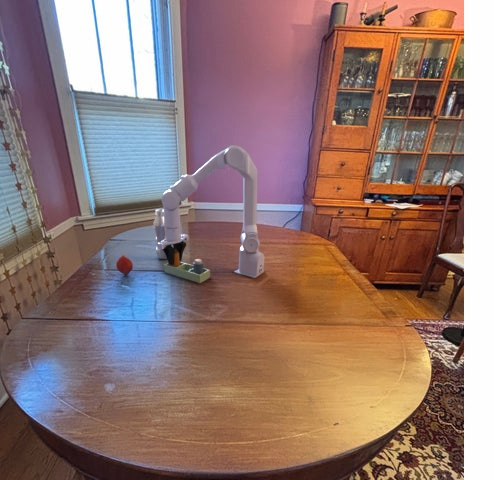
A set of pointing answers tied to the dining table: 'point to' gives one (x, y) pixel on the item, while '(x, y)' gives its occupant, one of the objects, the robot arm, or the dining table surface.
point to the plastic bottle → (159, 232)
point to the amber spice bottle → (176, 259)
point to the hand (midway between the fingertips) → (175, 262)
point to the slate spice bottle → (198, 266)
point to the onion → (124, 265)
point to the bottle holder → (187, 272)
